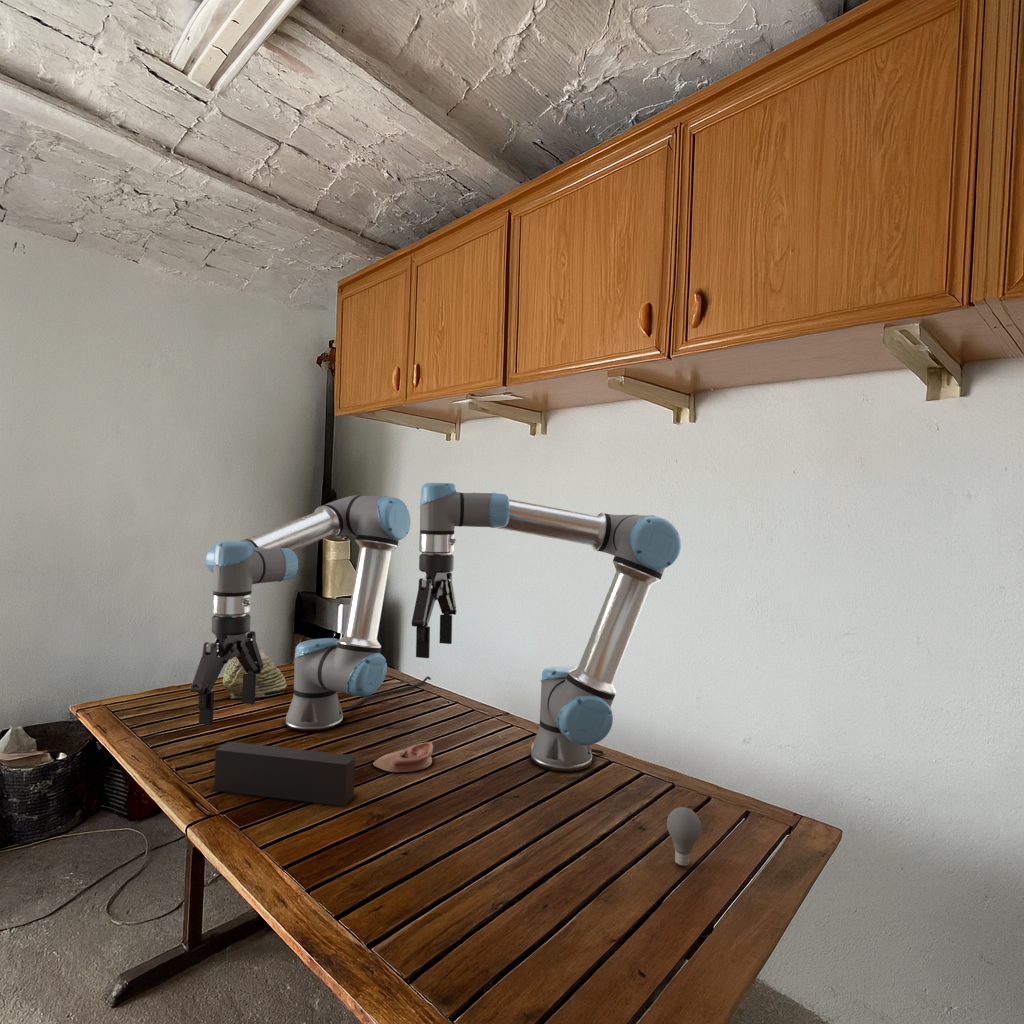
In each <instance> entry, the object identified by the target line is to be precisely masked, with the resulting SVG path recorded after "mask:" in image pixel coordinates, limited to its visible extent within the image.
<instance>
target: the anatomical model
mask: <svg viewBox="0 0 1024 1024" xmlns="http://www.w3.org/2000/svg"><path fill="white" fill-rule="evenodd" d="M433 751H434V744H433V743H432V742H430V741H426V742H422V743H418V744H414V745H411V746H408V747H406V748H403V749H401V750H397V751H394V752H390V753H387V754H385V755H382V756H381V757H378V758H377V759H375V760H374V762H373V763H372V764H373V766H374V767H375V768H378V769H380V770H382V771H385V772H388V773H408V772H416V771H420V770H424V769H426V768H428V767H430V766H431V765H432V763H433V758H432V756H431V755H432V754H433Z"/></svg>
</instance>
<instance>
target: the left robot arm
mask: <svg viewBox="0 0 1024 1024" xmlns="http://www.w3.org/2000/svg"><path fill="white" fill-rule="evenodd" d="M410 529H411V515H410V510H409V509H408V507H407V505H406V503H405V502H404V501H403V500H402V499H400V498H398V497H394V496H387V495H360V494H356V495H355V494H354V495H350V496H345V497H342V498H339V499H337V500H333V501H331V502H328V503H326V504H323V505H320V506H318V507H316V508H315V510H314V511H313V512H312V513H310V514H307V515H305V516H302V517H299V518H297V519H294V520H291V521H289V522H287V523H284V524H281V525H279V526H275V527H274V528H271V529H268V530H265V531H263V532H261V533H258V534H256V535H252V536H250V537H248V538H245V539H242V540H239V541H237V540H236V541H235V540H234V541H232V540H231V541H229V540H228V541H227V540H226V541H220V542H218V543H217V544H214V545H213V546H212V547H210V549H209V550H208V552H207V553H206V557H205V562H206V563H205V564H206V567H207V569H208V570H209V572H211V573H212V574H213V577H212V578H213V579H212V580H213V582H212V584H213V586H212V587H213V589H212V602H211V603H212V604H211V605H212V606H211V612H212V614H214V615H212V617H211V633H212V634H214V636H215V639H214V641H213V642H207V641H206V642H204V643H203V647H202V654H201V657H200V659H199V662H198V666H197V667H196V671H195V674H194V677H193V680H192V683H191V685H190V688H189V689H190V692H192V693H197V694H198V704H197V705H198V707H197V708H198V712H199V713H198V724H199V725H206V726H211V725H214V701H215V692H214V691H212V690H213V688H214V686H215V684H216V682H217V680H218V678H219V676H220V674H221V672H222V670H223V669H224V666H225V665H227V662H228V661H229V660H230V659H232V658H234V657H237V659H238V660H239V662H240V664H241V665H242V667H243V668H244V670H245V671H246V673H248V674H243V691H242V698H241V699H242V700H241V703H242V704H246V705H253V706H254V705H255V704H256V697H255V687H256V674H260V673H261V669H262V668H263V662H262V659H261V656H260V652H259V649H258V648H259V645H258V643H257V633H256V631H253V630H251V614H249V613H250V612H251V611H252V610H251V609H252V592H253V591H252V590H253V585H257V584H265V583H275V582H278V583H280V582H284V581H288V580H291V579H293V578H294V577H295V575H297V572H298V570H299V559H298V556H297V554H296V551H299V550H301V549H303V548H305V547H308V546H310V545H312V544H314V543H317V542H320V541H321V540H324V539H326V540H332V539H335V538H338V537H341V536H343V537H344V536H351V537H353V536H355V542H356V544H357V545H358V547H359V551H358V556H357V557H358V558H357V562H356V563H357V564H356V569H355V574H354V580H353V585H352V592H351V597H350V603H349V609H348V615H347V621H346V626H345V632H344V635H343V636H342V637H341V638H339V639H338V638H335V637H324V638H323V637H322V638H313V639H308V640H304V641H302V642H299V643H298V644H297V645H296V647H295V652H294V653H295V654H294V657H293V658H294V660H293V662H294V663H293V665H294V666H293V695H292V696H293V697H292V699H291V702H290V704H289V708H288V711H287V713H286V715H285V726H286V728H287V729H289V730H291V731H294V732H295V731H296V732H301V733H316V732H325V731H329V730H332V729H335V728H337V727H339V726H340V725H342V723H343V722H344V714H343V710H350V709H354V708H356V707H358V706H359V705H361V704H362V703H363V702H366V701H368V700H370V699H371V700H372V699H374V698H378V697H382V696H387V695H390V694H394V693H399V692H403V691H408V690H410V689H413V688H416V687H418V686H420V685H423V684H424V683H426V681H427V680H429V681H431V680H432V678H431V677H430V676H425V678H424V679H423V680H422V681H420V682H417V683H414V684H413V685H409V686H406V687H402V688H399V689H397V688H396V689H394V690H389V691H385V692H379V693H377V694H374V693H376V692H377V690H378V689H380V687H382V684H383V683H384V680H385V678H386V675H387V671H388V663H387V660H386V658H385V657H384V655H383V654H381V651H382V645H381V644H380V642H379V640H378V635H379V629H380V622H381V616H382V612H383V611H382V610H383V605H384V599H385V593H386V587H387V581H388V574H389V568H390V563H391V556H392V553H393V551H395V550H397V549H398V547H399V543H400V541H401V540H403V539H405V538H406V537H407V535H408V534H409V532H410ZM255 662H257V663H255ZM338 693H342V694H346V695H349V696H350V697H360V698H362V699H360V700H359V701H357V702H356V703H355V704H352V705H348V706H347V705H346V706H345V705H344V706H341V702H340V699H339V695H338Z"/></svg>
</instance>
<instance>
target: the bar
mask: <svg viewBox="0 0 1024 1024" xmlns="http://www.w3.org/2000/svg"><path fill="white" fill-rule="evenodd" d="M355 779H356V755H354V754H345V753H338V752H337V753H336V752H328V751H327V752H326V751H317V750H309V749H300V748H299V749H298V748H292V747H291V748H290V747H281V746H271V745H262V744H254V743H245V742H237V741H227V742H226V743H224V744H223V745H221V746H219V747H218V748H216V749H215V757H214V784H213V785H214V787H213V791H216V792H223V793H224V792H225V793H232V794H237V795H247V796H255V797H263V798H271V799H280V800H289V801H295V802H296V801H298V802H305V803H313V804H320V805H327V806H329V805H330V806H337V807H346V806H347V805H348V803H350V801H352V799H353V798H354V796H355Z"/></svg>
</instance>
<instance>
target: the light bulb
mask: <svg viewBox="0 0 1024 1024" xmlns="http://www.w3.org/2000/svg"><path fill="white" fill-rule="evenodd" d="M666 828H667V829H666V830H667V832H668V833H669V836H670V838H671V840H672V843H673V849H674V851H675V852H674V861H675V863H676V864H678V865H680V866H682V867H683V866H688V865H690V859H691V857H690V856H691V852H692V851H693V847H694V844H695V843H696V841H697V840H698V839H699V837H700V835H701V833H702V823H701V820H700V817H698V815H697V813H696V812H695V811H693V810H692V809H691V808H689V807H686V806H684V807H683V806H679V807H676V808H674V809H673V810H671V812H669V814H668V816H667V819H666Z"/></svg>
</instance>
